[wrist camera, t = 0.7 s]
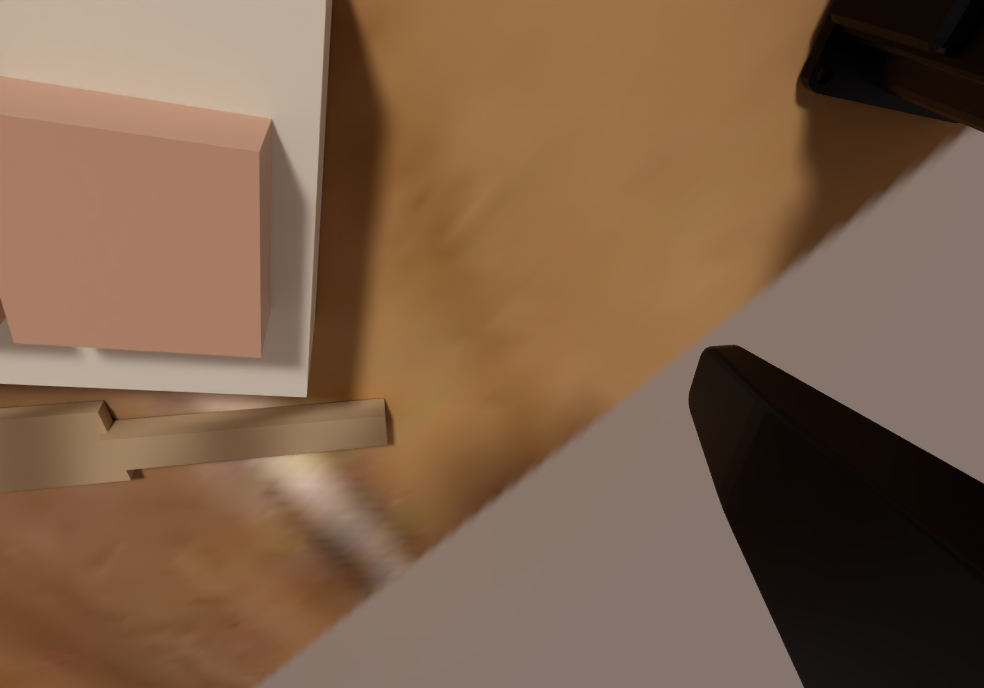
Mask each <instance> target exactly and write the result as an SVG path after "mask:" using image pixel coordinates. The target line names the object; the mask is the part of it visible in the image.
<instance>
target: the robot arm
mask: <svg viewBox="0 0 984 688" xmlns="http://www.w3.org/2000/svg"><path fill="white" fill-rule="evenodd" d="M823 68H825V73H824V75H823V76H822V78H821V79H819V80H818V81H817V76H818V73H819V72H820V71H821V70H822V69H823ZM801 78H802V84H803V86H804V87H805V88H807V89H809V90H811V91H813V92H815V93H818V94H823V95H828V96H832V97H837V98H841V99H846V100H851V101H855V102H860V103H865V104H869V105H874V106H878V107H883V108H888V109H892V110H897V111H902V112H906V113H911V114H915V115H920V116H925V117H929V118H934V119H939V120H943V121H948V122H952V123H962V124H965V125H967V126H970V127H972V128H974V129H977V130H979V131H982V132H984V0H836V1H835V3H834V5H833V8H832V10H831V13H830V15H829V17H828V19H827V22H826V24H825V26H824V28H823V30H822V32H821V34H820V36H819V38H818V40H817V42H816V44H815V47H814V49H813V51H812V53H811V55H810V57H809V59H808V61H807V63H806V65H805V67H804V70H803V73H802V76H801ZM689 408H690V412H691V415H692V418H693V422H694V425H695V427H696V431H697V434H698V437H699V440H700V443H701V446H702V449H703V452H704V455H705V458H706V461H707V464H708V467H709V470H710V473H711V476H712V479H713V482H714V485H715V488H716V491H717V494H718V497H719V500H720V502H721V505H722V508H723V511H724V513H725V515H726V518H727V520H728V522H729V524H730V527H731V529H732V531H733V533H734V536H735V538H736V540H737V542H738V544H739V547H740V549H741V551H742V553H743V555H744V558H745V560H746V562H747V564H748V566H749V568H750V571H751V573H752V575H753V577H754V579H755V582H756V583H757V586H758V588H759V590H760V592H761V595H762V597H763V599H764V601H765V603H766V606H767V608H768V610H769V612H770V614H771V617H772V619H773V621H774V623H775V625H776V627H777V630H778V632H779V634H780V636H781V638H782V641H783V643H784V645H785V647H786V649H787V651H788V654H789V656H790V658H791V660H792V662H793V665H794V667H795V669H796V671H797V673H798V675H799V678H800V679H801V682H802V684H803V686H804V688H984V484H983V483H982V482H980V481H978V480H976V479H975V478H973V477H971V476H969V475H967V474H966V473H964V472H962V471H960V470H959V469H957V468H955V467H953V466H951V465H950V464H948V463H946V462H944V461H943V460H941V459H939V458H937V457H935V456H934V455H932V454H930V453H928V452H926V451H925V450H923V449H921V448H919V447H917V446H916V445H914V444H912V443H911V442H909V441H907V440H905V439H903V438H902V437H900V436H898V435H896V434H895V433H893V432H891V431H889V430H888V429H886V428H884V427H882V426H880V425H879V424H877V423H875V422H873V421H871V420H870V419H868V418H866V417H864V416H862V415H861V414H859V413H857V412H856V411H854V410H852V409H850V408H848V407H847V406H845V405H843V404H841V403H840V402H838V401H836V400H834V399H832V398H831V397H829V396H827V395H825V394H824V393H822V392H820V391H818V390H816V389H815V388H813V387H811V386H809V385H807V384H806V383H804V382H802V381H800V380H799V379H797V378H795V377H793V376H792V375H790V374H788V373H786V372H784V371H783V370H781V369H779V368H777V367H775V366H774V365H772V364H770V363H768V362H767V361H765V360H763V359H761V358H759V357H758V356H756V355H754V354H752V353H751V352H749V351H747V350H745V349H744V348H741V347H740V346H737V345H723V346H710V347H708V348H706V349H705V350H704V351H703V352H702V354H701V356H700V359H699V362H698V366H697V369H696V372H695V375H694V378H693V382H692V385H691V388H690V392H689Z"/></svg>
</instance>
